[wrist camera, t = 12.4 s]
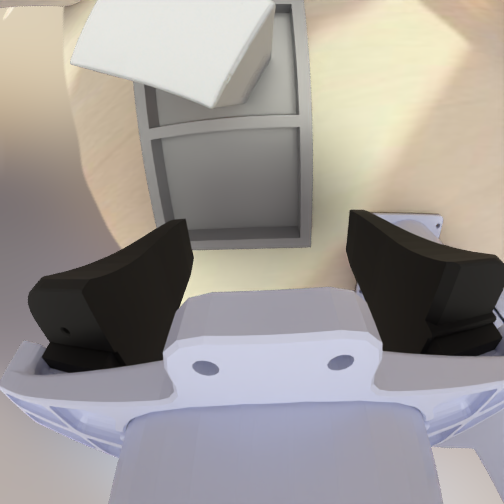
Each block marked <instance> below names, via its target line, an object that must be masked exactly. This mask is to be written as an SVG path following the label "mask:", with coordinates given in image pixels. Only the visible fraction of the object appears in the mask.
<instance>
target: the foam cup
mask: <svg viewBox="0 0 504 504" xmlns="http://www.w3.org/2000/svg"><path fill="white" fill-rule="evenodd" d="M80 1H81V0H0V8H5V7H17V6H70V5H73V4H76V3H78V2H80Z"/></svg>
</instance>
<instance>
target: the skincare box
mask: <svg viewBox="0 0 504 504" xmlns="http://www.w3.org/2000/svg"><path fill="white" fill-rule="evenodd" d="M275 8H276V5H275V3H274V1H272V0H97V2H96V4H95V5H94V7H93V9H92V11H91V13H90V15H89V17H88V19H87V21H86V23H85V25H84V27H83V30H82V32H81V34H80V36H79V39H78V41H77V44H76V46H75V49H74V52H73V54H72V57H71V61H70V64H71V65H75V66H79V67H82V68H86V69H89V70H93V71H96V72H100V73H104V74H107V75H111V76H115V77H119V78H123V79H127V80H131V81H134V82H138V83H141V84H144V85H147V86H151V87H154V88H157V89H160V90H163V91H165V92H168V93H171V94H174V95H177V96H180V97H182V98H185V99H187V100H190V101H193V102H195V103H198V104H201V105H203V106H205V107H207V108H210V109H214V108H220V107H226V106H232V105H239V104H244V103H245V102H246V100H247V99H248V97H249V95H250V93H251V91H252V90H253V88H254V86H255V84H256V83H257V81H258V79H259V78H260V76H261V74H262V73H263V71H264V69H265V68H266V66H267V64H268V62H269V61H270V59H271V53H272V38H273V24H274V14H275Z"/></svg>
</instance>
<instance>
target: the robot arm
mask: <svg viewBox="0 0 504 504" xmlns="http://www.w3.org/2000/svg"><path fill="white" fill-rule="evenodd" d="M442 223H443V217H442V216H440V215H436V214H403V213H370V212H368V211H365V210H350V214H349V226H348V236H347V245H346V252H347V256H348V260H349V263H350V266H351V269H352V271H353V274H354V276H355V278H356V281H357V286H356V291H355V292H354V291H353V290H346V289H340V288H333V287H319V288H303V289H285V290H264V291H238V292H212V293H207V294H203V295H199V296H195V297H191V298H188V299H187V300H186V301H185V303H184V304H183V305H182V306H181V307H180V304H181V301H182V298H183V295H184V292H185V290H186V287H187V284H188V281H189V278H190V275H191V270H192V265H193V259H194V256H193V252H192V247H191V242H190V238H189V233H188V228H187V223H186V219H174V220H170V221H168V222H166V223H165V224H163V225H161V226H160V227H158V228H156V229H155V230H153V231H152V232H150V233H148V234H147V235H145V236H144V237H142V238H140V239H139V240H137V241H135V242H134V243H132V244H131V245H129V246H127V247H125V248H124V249H122V250H120V251H118V252H116V253H114V254H112V255H110V256H108V257H105V258H103V259H100V260H98V261H95V262H93V263H91V264H88V265H85V266H82V267H79V268H76V269H73V270H69V271H66V272H62V273H57V274H53V275H49V276H44V277H42V278H41V279H40V281H38V283H37V284H36V285H35V286H34V287H33V289H32V290H31V291H30V292H29V296H28V305H29V308H30V311H31V313H32V315H33V317H34V319H35V321H36V322H37V324H38V325H39V327H40V328H41V330H42V331H43V333H44V334H45V336H46V337H47V339H48V340H49V342H50V343H49V345H48V347H47V348H45V347H44V346H43V345H41V344H38V343H34V342H30V341H26V340H25V341H23V342H22V344H21V345H20V347H19V348H18V350H17V352H16V353H15V355H14V357H13V358H12V360H11V362H10V363H9V365H8V367H7V369H6V371H5V373H4V374H3V376H2V378H1V380H0V390H1V391H2V392H3V393H4V394H5V395H6V396H7V397H8V398H9V399H10V400H11V401H12V402H13V403H14V404H15V405H17V406H18V407H19V408H20V409H21V410H22V411H23V412H25V414H27V415H28V416H29V417H30V418H31V419H33V420H34V421H35V422H37V423H39V424H41V425H43V426H45V427H47V428H49V429H51V430H53V431H55V432H57V433H59V434H62V435H64V436H66V437H68V438H70V439H73V440H74V441H77V442H79V443H82V444H84V445H86V446H88V447H91V448H93V449H96V450H98V451H101V452H103V453H106V454H109V455H111V456H114V457H117V458H119V460H118V464H117V468H116V472H115V476H114V480H113V485H112V489H111V494H110V499H109V504H443V501H442V495H441V489H440V484H439V479H438V475H437V470H436V465H435V461H434V458H433V453H432V449H431V447H442V448H472V449H474V450H475V451H476V453H477V455H478V456H479V458H480V460H481V462H482V463H483V465H484V467H485V468H486V470H487V472H488V474H489V476H490V478H491V480H492V481H493V483H494V485H495V487H496V489H497V491H498V493H499V495H500V497H501V499H502V501H503V503H504V263H503V262H502V261H501V260H500V259H499V258H498V257H497V256H496V255H492V254H485V253H478V252H471V251H466V250H461V249H457V248H453V247H449V246H446V245H443V243H442V242H441V241H440V240H439V236H440V232H441V227H442ZM437 224H438V226H436V225H437ZM360 289H361V291H359V290H360ZM179 307H180V308H179Z"/></svg>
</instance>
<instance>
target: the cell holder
mask: <svg viewBox="0 0 504 504" xmlns="http://www.w3.org/2000/svg"><path fill="white" fill-rule="evenodd" d="M272 1H274V3H275V5H276V8H275V14H274V24H273V38H272V53H271V59H270V61H269V62H268V64H267V66H266V68H265V69H264V71H263V73H262V74H261V76H260V78H259V79H258V81H257V83H256V84H255V86H254V88H253V90H252V91H251V93H250V95H249V97H248V99H247V100H246V102H245V103H244V104H239V105H232V106H226V107H220V108H214V109H210V108H207V107H205V106H203V105H201V104H198V103H195V102H193V101H190V100H187V99H185V98H182V97H180V96H177V95H174V94H171V93H168V92H165V91H163V90H160V89H157V88H154V87H151V86H147V85H144V84H141V83H138V82H134V81H133V84H134V95H135V104H136V113H137V121H138V128H139V135H140V142H141V149H142V155H143V161H144V167H145V173H146V178H147V184H148V189H149V194H150V199H151V204H152V209H153V213H154V218H155V223H156V227H157V228H158V227H160V226H161V225H163V224H165V223H166V222H168V221H170V220H174V219H186V223H187V228H188V233H189V238H190V242H191V247H192V250H220V249H260V248H302V247H311V229H312V191H313V139H312V102H311V81H310V64H309V50H308V38H307V27H306V17H305V8H304V0H272Z"/></svg>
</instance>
